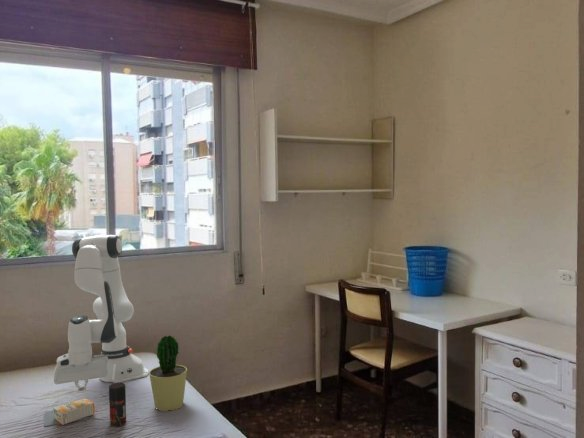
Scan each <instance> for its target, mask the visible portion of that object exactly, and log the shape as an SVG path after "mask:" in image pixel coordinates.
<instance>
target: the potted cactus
mask: <svg viewBox="0 0 584 438" xmlns="http://www.w3.org/2000/svg"><path fill="white" fill-rule="evenodd" d="M179 343H180V342H179V341H177V339H175V336H174V335H173V336H172V335H164V336H162V337H161V338H160V340H159V341H158V343H157V345H156V346H157V347H155V350H156V358H157V361H156V362H158V364H159V366H156V367H154V368H152V369H150V370H149V371H148V375H149V380H150V386H151V389H152V395H153V401H154V406H155V409H156V408H157V409H159V410H164V411H163V412H169V411H168V410H173V411H176V410H178V408H179V409H181V408H182V406H183V405H184V401H185V391H186V381H187V373H188V368H187V366H184V365H181V364H177V362H178V361H177V359H178V354H181V352H179V349H180V348H181V347H179ZM157 409H156V410H157ZM175 409H176V410H175ZM159 410H158V411H159Z"/></svg>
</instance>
